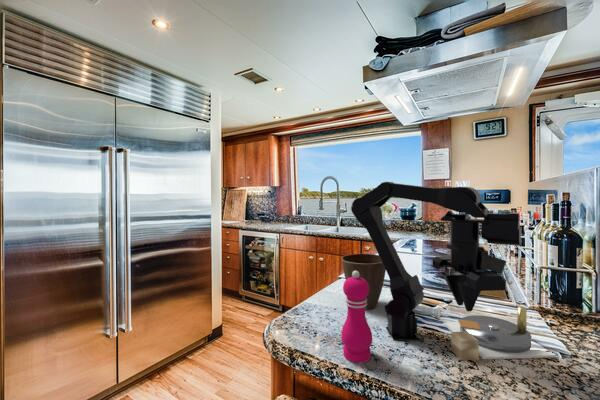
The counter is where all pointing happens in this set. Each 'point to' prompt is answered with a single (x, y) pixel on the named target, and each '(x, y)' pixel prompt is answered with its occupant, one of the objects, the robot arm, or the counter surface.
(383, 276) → the plant pot
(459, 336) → the link block
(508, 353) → the base board
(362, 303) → the pepper mill
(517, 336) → the crank wheel
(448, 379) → the counter surface
